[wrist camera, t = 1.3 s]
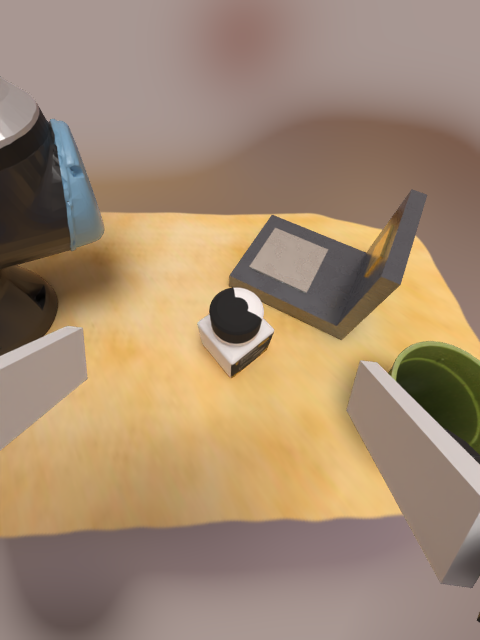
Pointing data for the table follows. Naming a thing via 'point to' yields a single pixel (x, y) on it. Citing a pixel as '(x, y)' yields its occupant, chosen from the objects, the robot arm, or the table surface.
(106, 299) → the table surface
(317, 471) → the table surface
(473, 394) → the plant pot
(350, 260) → the bookend
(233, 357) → the medicine bottle
